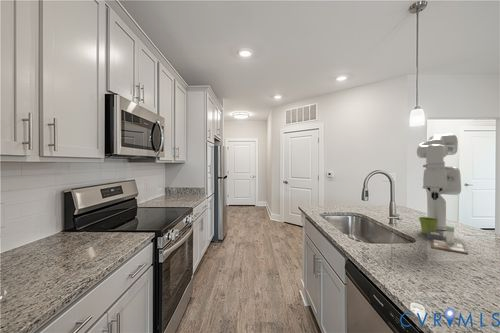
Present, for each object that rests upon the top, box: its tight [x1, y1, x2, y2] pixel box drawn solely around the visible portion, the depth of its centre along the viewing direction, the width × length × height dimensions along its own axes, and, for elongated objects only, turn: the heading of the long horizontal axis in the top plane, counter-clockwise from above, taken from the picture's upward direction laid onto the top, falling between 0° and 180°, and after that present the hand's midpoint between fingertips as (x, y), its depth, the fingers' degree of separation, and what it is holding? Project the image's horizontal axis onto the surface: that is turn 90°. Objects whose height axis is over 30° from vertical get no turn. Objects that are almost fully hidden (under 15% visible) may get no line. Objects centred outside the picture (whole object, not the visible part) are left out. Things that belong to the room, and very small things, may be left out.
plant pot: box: [418, 216, 438, 235], centre depth 136 cm, size 9×9×9 cm
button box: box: [426, 231, 444, 240], centre depth 126 cm, size 7×7×3 cm
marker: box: [445, 225, 455, 244], centre depth 116 cm, size 3×3×8 cm
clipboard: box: [431, 239, 469, 255], centre depth 114 cm, size 16×13×1 cm
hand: (434, 199), depth 127 cm, fingers closed
